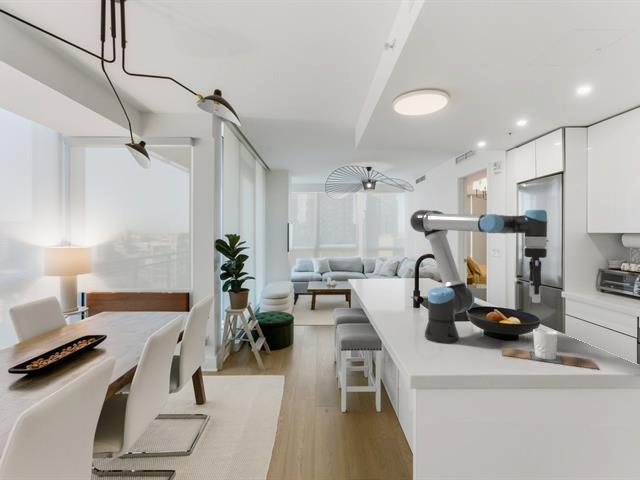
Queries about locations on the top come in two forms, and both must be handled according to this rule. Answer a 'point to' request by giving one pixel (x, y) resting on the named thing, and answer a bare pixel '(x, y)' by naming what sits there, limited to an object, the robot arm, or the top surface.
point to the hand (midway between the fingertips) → (534, 299)
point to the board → (559, 360)
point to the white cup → (545, 343)
